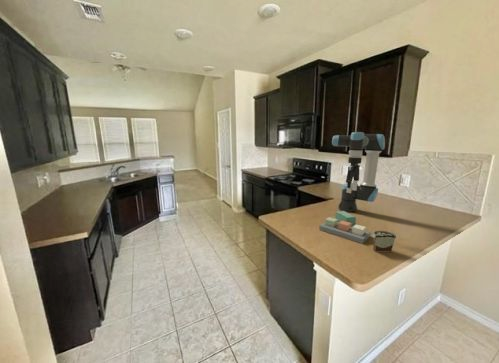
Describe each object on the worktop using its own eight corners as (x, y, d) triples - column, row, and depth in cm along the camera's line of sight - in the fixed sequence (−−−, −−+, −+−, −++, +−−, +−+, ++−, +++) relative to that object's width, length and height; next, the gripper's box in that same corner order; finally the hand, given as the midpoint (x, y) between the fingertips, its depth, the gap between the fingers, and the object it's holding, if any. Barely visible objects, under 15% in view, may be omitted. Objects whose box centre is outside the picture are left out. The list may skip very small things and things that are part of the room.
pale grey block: (355, 230, 143) (356, 224, 142) (365, 233, 139) (366, 227, 138) (351, 232, 139) (352, 227, 138) (361, 235, 135) (362, 229, 134)
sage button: (328, 222, 155) (329, 217, 155) (337, 224, 151) (337, 219, 150) (325, 224, 151) (325, 219, 150) (333, 227, 147) (333, 221, 146)
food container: (386, 245, 129) (389, 230, 127) (394, 251, 123) (396, 234, 121) (366, 246, 129) (368, 230, 126) (372, 251, 123) (374, 235, 120)
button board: (328, 223, 160) (328, 220, 160) (370, 236, 141) (370, 232, 140) (319, 229, 150) (319, 225, 150) (362, 243, 131) (363, 239, 131)
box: (346, 227, 154) (347, 217, 153) (334, 220, 167) (335, 211, 166) (355, 226, 156) (356, 216, 155) (342, 219, 169) (343, 210, 168)
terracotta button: (341, 226, 149) (342, 220, 148) (350, 228, 145) (351, 223, 144) (337, 228, 145) (338, 222, 144) (347, 231, 141) (347, 225, 140)
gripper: (355, 155, 150) (351, 187, 154) (342, 157, 135) (338, 193, 139) (367, 156, 144) (363, 189, 149) (355, 158, 129) (351, 195, 134)
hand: (351, 191), depth 144 cm, fingers open, 9 cm apart
